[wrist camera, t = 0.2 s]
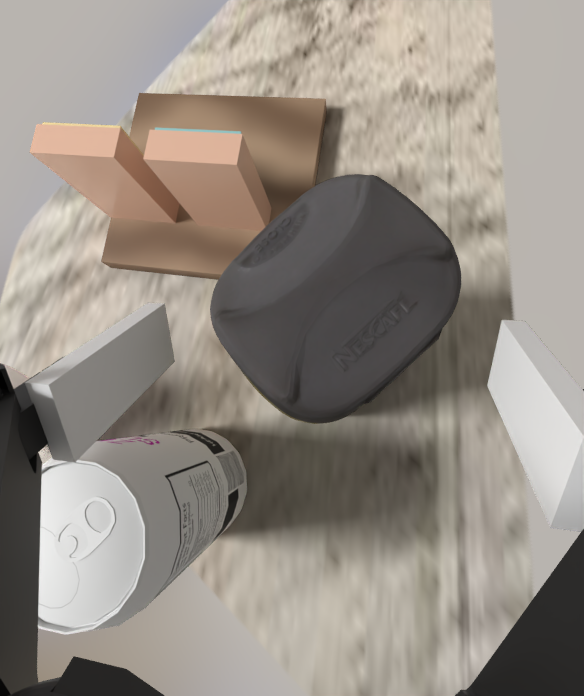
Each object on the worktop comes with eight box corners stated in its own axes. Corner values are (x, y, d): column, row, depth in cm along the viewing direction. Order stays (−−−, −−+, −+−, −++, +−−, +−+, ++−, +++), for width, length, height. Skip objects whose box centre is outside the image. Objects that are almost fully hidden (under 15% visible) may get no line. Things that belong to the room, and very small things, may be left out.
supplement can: (195, 559, 31) (54, 697, 16) (131, 477, 32) (-50, 533, 18) (271, 485, 31) (199, 555, 16) (202, 407, 32) (81, 405, 18)
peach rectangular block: (267, 231, 32) (236, 164, 24) (197, 225, 33) (143, 159, 25) (272, 204, 33) (243, 129, 24) (203, 199, 34) (150, 125, 25)
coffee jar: (351, 278, 32) (352, 110, 14) (423, 347, 31) (530, 259, 13) (264, 360, 32) (154, 297, 14) (331, 434, 31) (305, 470, 13)
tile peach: (175, 223, 34) (113, 157, 25) (111, 217, 35) (29, 152, 26) (180, 197, 34) (121, 123, 25) (116, 192, 35) (37, 120, 26)
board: (298, 288, 33) (296, 282, 31) (111, 267, 36) (101, 261, 34) (326, 111, 35) (325, 98, 33) (147, 105, 38) (139, 93, 36)
